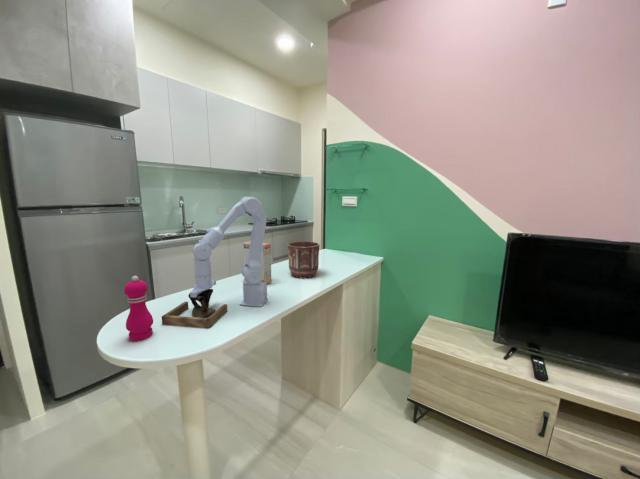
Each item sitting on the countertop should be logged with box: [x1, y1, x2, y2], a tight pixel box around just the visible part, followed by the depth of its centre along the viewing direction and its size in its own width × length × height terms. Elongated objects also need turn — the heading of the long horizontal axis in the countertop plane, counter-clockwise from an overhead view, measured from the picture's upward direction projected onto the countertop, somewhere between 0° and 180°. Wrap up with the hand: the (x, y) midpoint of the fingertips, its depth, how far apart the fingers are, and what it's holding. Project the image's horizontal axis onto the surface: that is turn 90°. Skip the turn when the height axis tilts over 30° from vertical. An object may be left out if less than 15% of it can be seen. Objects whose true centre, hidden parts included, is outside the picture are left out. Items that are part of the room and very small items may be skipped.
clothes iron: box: [187, 293, 217, 318], centre depth 100 cm, size 7×11×10 cm, turn 48°
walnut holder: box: [161, 301, 228, 329], centre depth 97 cm, size 17×13×3 cm
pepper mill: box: [123, 275, 154, 342], centre depth 83 cm, size 7×7×20 cm
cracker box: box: [243, 240, 272, 285], centre depth 137 cm, size 14×6×21 cm, turn 58°
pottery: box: [286, 241, 320, 279], centre depth 150 cm, size 18×18×18 cm
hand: (205, 308), depth 103 cm, fingers closed, pressing on clothes iron
